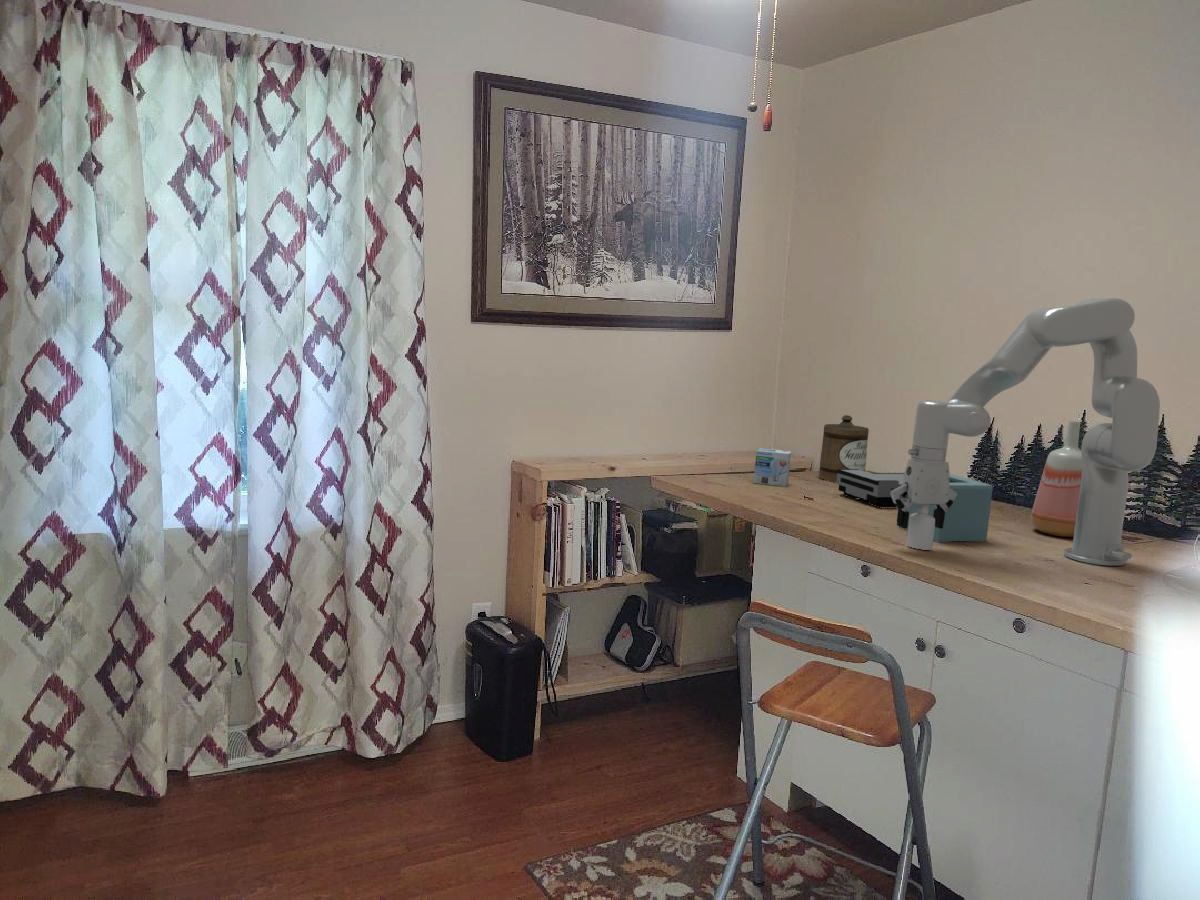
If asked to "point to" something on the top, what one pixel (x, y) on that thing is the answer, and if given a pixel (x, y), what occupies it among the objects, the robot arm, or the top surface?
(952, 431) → the robot arm
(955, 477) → the drop box
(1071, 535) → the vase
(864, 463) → the wooden container
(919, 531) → the eye dropper bottle
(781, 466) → the light bulb box
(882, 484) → the game console
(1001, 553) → the top surface
